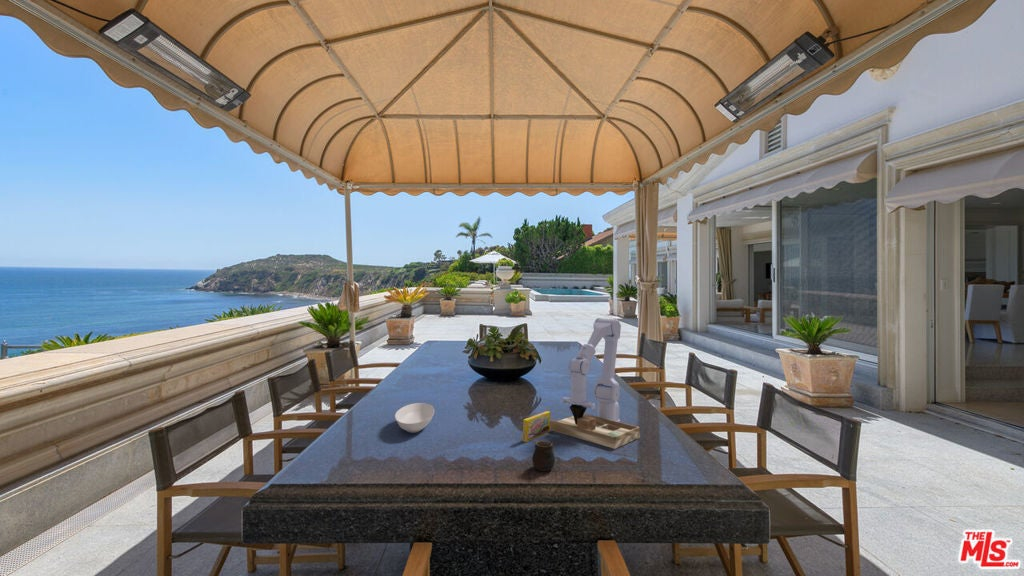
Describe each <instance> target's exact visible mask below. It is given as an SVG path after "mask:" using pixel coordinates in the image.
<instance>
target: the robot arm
mask: <svg viewBox="0 0 1024 576" xmlns="http://www.w3.org/2000/svg"><path fill="white" fill-rule="evenodd" d="M621 330H622V325H621V322H620V321H619V320H618V319H617V318H615V319H614V318H600V317H597V318H595V320H594V323H593V330H592V334H591V335H590V337H589V339H588V342H587V343H586V344H583V345H582V346H581V348H580V350H579V351H578V353H577V355H576V356H575V358H572V359H571V360H570V361H569V364H568V371H569V376H570V378H571V385H570V386H571V388H570V389H571V390H570V392H571V393H570V395H571V396H570V397H568V396H564V397H561V403H563V404H568V405H569V404H570V406H569V410H570V411H571V413H572V416H573V417H574V420H575V424H576V425H577V418H581V417H583V415H584V414H585V412H586V411H587V409H590V410H592V411H593V410H595V409H596V403H593V402H591V401H588V400H587V374H588V373H589V372H590V369H591V368H590V366H591V362H592V359H594V356H595V355H596V352H597V350H596V347H597V346H598V345H599V343H600V342H601V340H602V339H603V340H604V351H603V352H604V353H603V361H602V370H601V377H600V378H599V379H597V380H596V381H595V385H594V389H593V395H594V398H595V399H596V401H597V417H601V418H605V419H609V420H613V421H617V422H621V421H622V420H621V419H620V405H619V402H618V400H619V399H620V397H621V392H620V391H621V390H620V383H618V382H617V380H616V379H615V370H616V361H617V351H618V341H619V339H620V338H621Z"/></svg>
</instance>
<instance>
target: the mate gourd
mask: <svg viewBox="0 0 1024 576" xmlns="http://www.w3.org/2000/svg"><path fill="white" fill-rule="evenodd" d="M554 441H555V440H552V441H548V440H537V441H535V443H534V451H533V454H532V457H531V458H532V460H531V461H532V464H533V467H534V468H535V469H536V470H537V471H540V472H548V471H550V470H551V469H553V467H554V465H555V461H556V458H555V454H554V451H553V449H554V447H553V445H554Z"/></svg>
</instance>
